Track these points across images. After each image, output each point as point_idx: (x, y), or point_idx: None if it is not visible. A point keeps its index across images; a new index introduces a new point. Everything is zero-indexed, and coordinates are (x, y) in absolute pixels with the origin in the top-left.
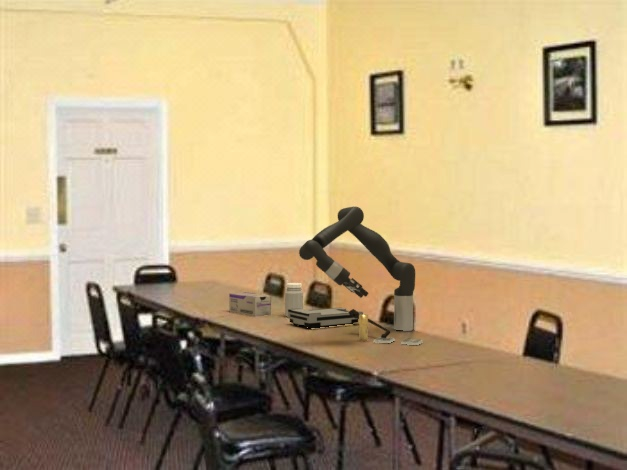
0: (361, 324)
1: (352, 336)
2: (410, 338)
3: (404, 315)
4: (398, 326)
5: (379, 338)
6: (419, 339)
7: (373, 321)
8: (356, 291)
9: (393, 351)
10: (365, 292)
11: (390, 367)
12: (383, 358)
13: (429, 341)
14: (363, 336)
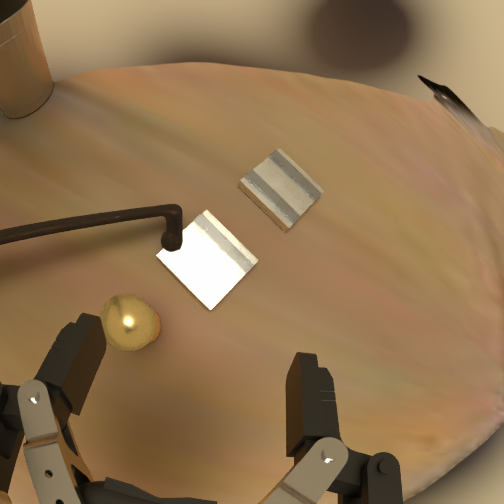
0: (148, 343)
1: (27, 311)
2: (254, 171)
3: (33, 65)
4: (26, 104)
5: (209, 280)
6: (284, 158)
7: (65, 225)
8: (72, 402)
9: (381, 313)
10: (324, 392)
11: (497, 381)
12: (445, 374)
13: (248, 119)
14: (158, 333)
